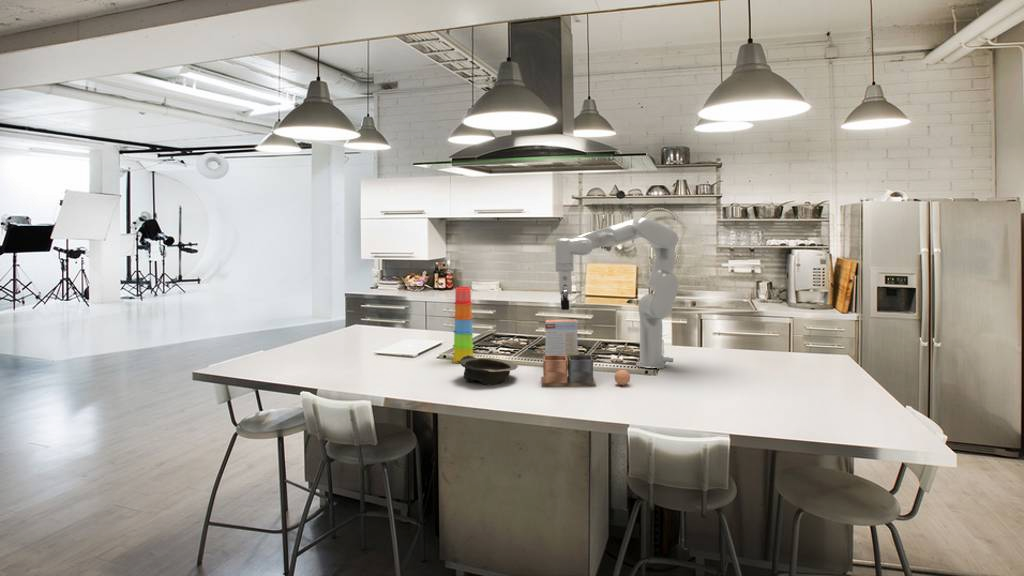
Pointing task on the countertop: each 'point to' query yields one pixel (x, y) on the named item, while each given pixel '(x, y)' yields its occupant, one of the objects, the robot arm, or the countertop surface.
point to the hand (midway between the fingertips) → (565, 308)
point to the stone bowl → (486, 369)
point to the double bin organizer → (577, 371)
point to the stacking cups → (463, 324)
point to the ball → (622, 377)
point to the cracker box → (561, 337)
